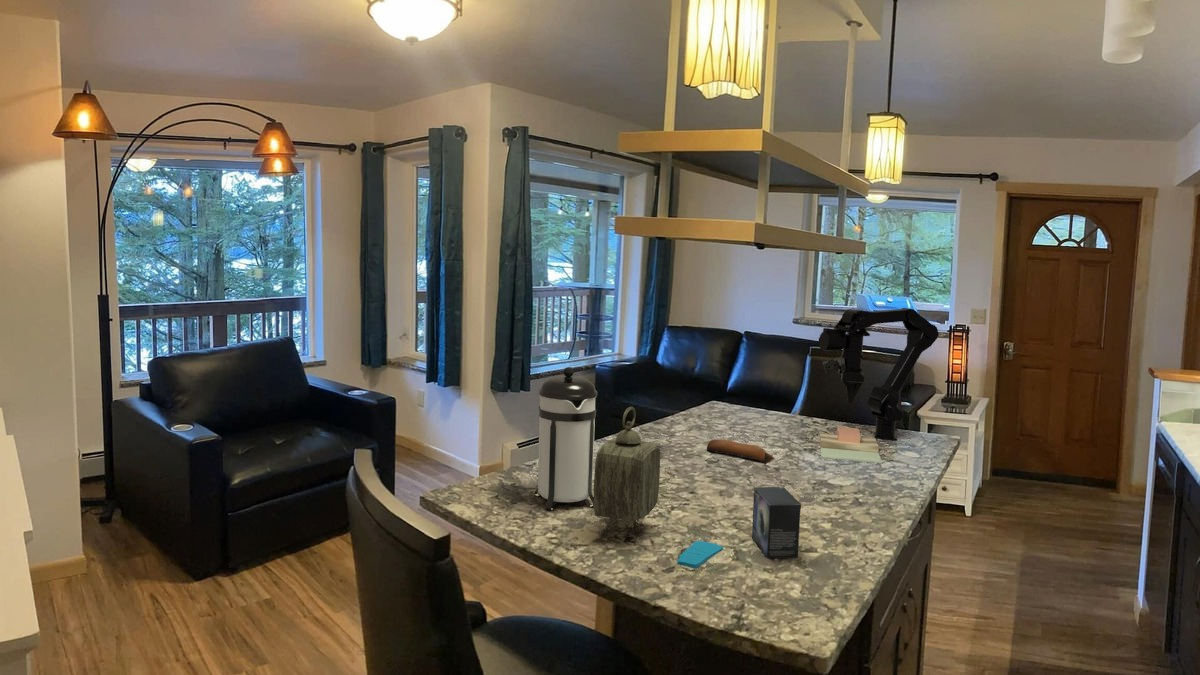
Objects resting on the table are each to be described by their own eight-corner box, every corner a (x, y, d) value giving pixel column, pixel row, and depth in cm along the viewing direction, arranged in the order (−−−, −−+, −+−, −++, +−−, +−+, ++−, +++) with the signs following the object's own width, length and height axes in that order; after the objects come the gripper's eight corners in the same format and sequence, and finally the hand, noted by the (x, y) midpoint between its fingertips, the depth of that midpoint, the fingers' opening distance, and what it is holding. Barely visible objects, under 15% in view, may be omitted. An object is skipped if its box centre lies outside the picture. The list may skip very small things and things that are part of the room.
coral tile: (837, 434, 235) (837, 426, 235) (857, 436, 234) (858, 428, 233) (838, 441, 226) (838, 433, 226) (859, 443, 225) (860, 435, 225)
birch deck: (819, 439, 237) (820, 433, 237) (874, 444, 233) (874, 437, 233) (820, 448, 225) (820, 441, 225) (878, 453, 221) (878, 447, 221)
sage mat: (820, 449, 225) (820, 447, 225) (878, 454, 221) (878, 453, 221) (821, 457, 215) (821, 456, 215) (881, 463, 211) (881, 461, 211)
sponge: (666, 558, 139) (696, 563, 136) (695, 539, 149) (723, 543, 146) (667, 567, 139) (696, 571, 136) (696, 547, 149) (724, 551, 146)
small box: (749, 537, 152) (752, 485, 151) (781, 537, 153) (784, 486, 152) (765, 558, 142) (768, 503, 141) (799, 558, 142) (803, 503, 141)
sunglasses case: (778, 457, 213) (774, 439, 210) (768, 475, 209) (763, 456, 205) (720, 446, 224) (715, 428, 221) (709, 462, 220) (704, 445, 216)
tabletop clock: (617, 516, 162) (622, 399, 159) (659, 523, 158) (664, 403, 156) (591, 539, 148) (596, 411, 145) (636, 547, 145) (641, 417, 142)
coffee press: (613, 497, 174) (618, 366, 170) (575, 517, 160) (579, 374, 157) (549, 484, 182) (553, 358, 179) (508, 501, 169) (511, 366, 165)
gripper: (824, 345, 247) (820, 393, 249) (826, 352, 229) (823, 404, 231) (860, 347, 244) (857, 396, 246) (865, 354, 226) (862, 407, 228)
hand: (849, 400), depth 238 cm, fingers open, 7 cm apart
